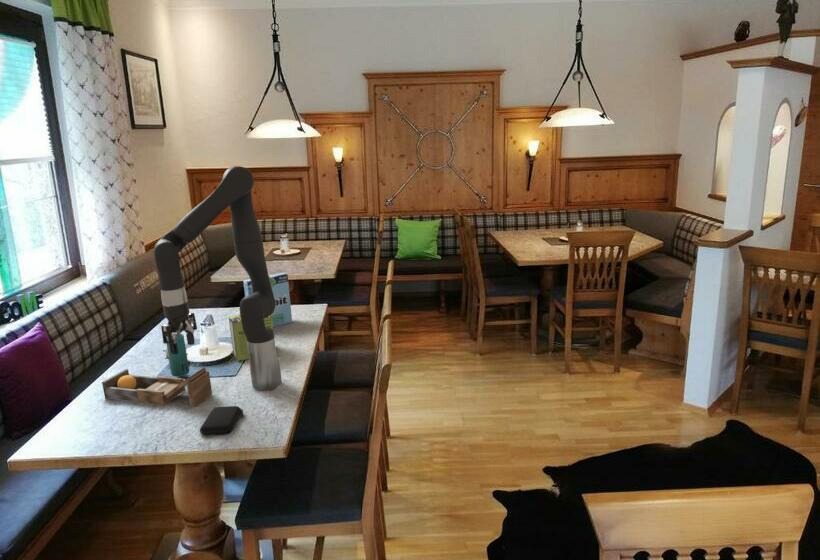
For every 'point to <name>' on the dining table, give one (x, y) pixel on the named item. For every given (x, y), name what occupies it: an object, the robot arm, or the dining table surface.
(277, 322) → the gum box
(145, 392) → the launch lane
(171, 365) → the beverage bottle
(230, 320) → the protein box
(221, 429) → the carrying case or bag
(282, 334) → the dining table surface
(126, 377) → the ball
